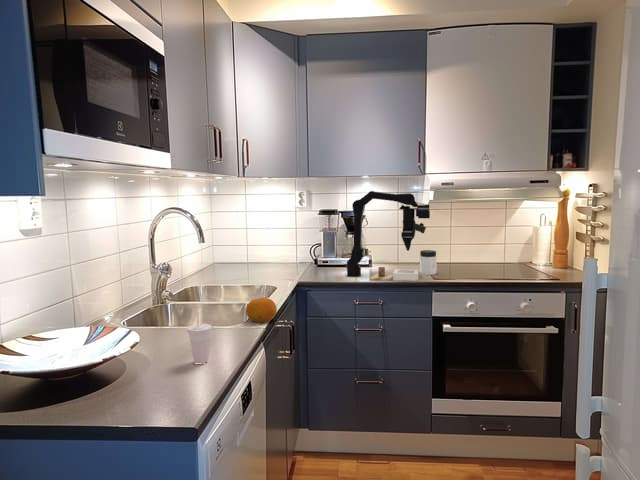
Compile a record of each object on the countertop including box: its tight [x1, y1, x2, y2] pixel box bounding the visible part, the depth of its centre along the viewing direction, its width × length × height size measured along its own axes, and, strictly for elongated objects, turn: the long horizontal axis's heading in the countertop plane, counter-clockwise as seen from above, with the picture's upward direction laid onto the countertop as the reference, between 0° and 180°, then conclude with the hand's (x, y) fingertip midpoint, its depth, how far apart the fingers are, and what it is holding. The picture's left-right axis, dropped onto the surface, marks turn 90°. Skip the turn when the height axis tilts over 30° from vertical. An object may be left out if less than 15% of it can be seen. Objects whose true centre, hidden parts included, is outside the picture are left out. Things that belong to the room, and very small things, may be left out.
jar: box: [419, 249, 438, 276], centre depth 240 cm, size 9×8×12 cm
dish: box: [392, 268, 419, 282], centre depth 227 cm, size 12×12×4 cm
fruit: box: [245, 297, 278, 323], centre depth 159 cm, size 10×10×8 cm
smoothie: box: [186, 311, 213, 364], centre depth 121 cm, size 6×6×14 cm
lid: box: [369, 266, 393, 282], centre depth 228 cm, size 10×10×6 cm
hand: (408, 249), depth 229 cm, fingers open, 9 cm apart
